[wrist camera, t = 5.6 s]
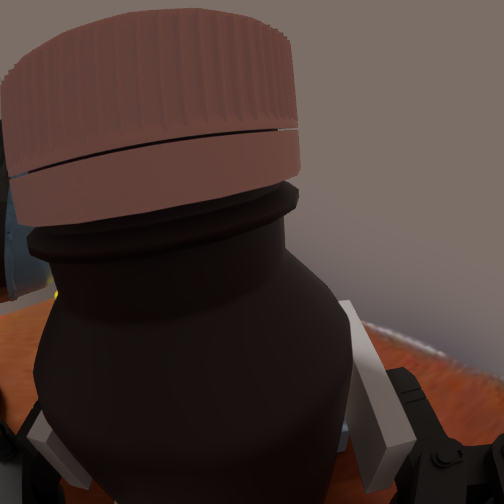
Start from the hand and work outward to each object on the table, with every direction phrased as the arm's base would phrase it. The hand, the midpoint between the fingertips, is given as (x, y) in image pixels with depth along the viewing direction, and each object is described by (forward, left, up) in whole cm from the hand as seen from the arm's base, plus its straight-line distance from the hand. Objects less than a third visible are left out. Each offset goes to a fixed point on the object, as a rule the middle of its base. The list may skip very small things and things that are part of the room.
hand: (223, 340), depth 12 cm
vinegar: (0, -5, -11) cm, 12 cm away
